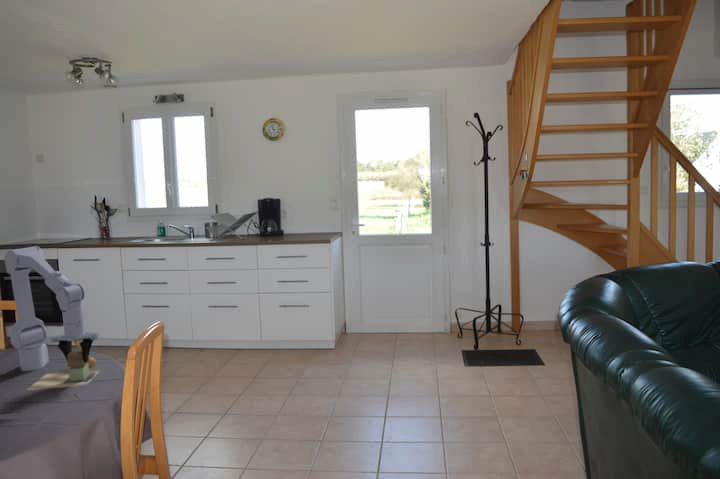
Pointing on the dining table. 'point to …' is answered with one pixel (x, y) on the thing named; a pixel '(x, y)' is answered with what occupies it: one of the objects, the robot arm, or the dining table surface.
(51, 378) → the baseplate
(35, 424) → the dining table surface
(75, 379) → the sage block
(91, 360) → the figurine
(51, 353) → the dining table surface
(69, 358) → the walnut block
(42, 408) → the dining table surface
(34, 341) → the robot arm
